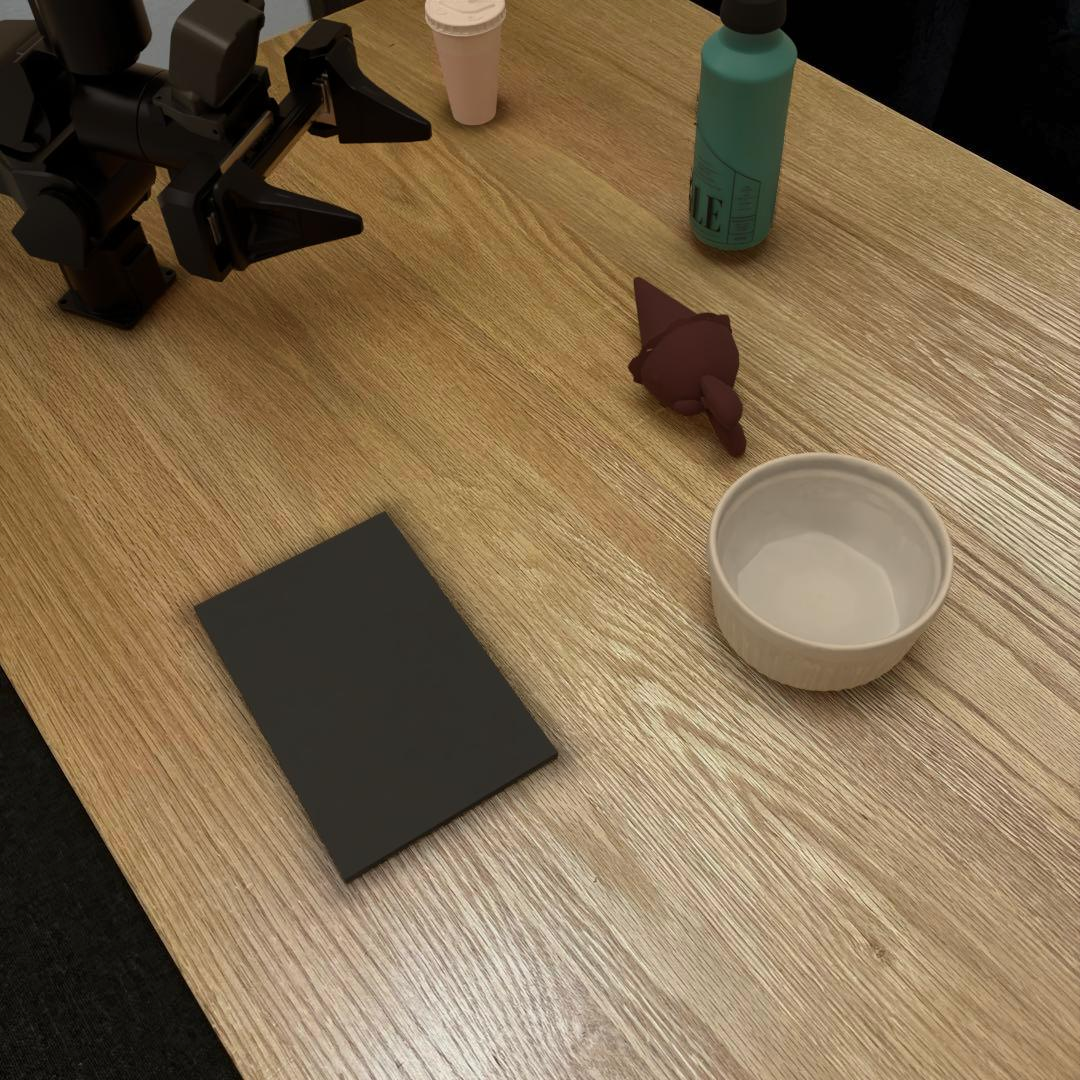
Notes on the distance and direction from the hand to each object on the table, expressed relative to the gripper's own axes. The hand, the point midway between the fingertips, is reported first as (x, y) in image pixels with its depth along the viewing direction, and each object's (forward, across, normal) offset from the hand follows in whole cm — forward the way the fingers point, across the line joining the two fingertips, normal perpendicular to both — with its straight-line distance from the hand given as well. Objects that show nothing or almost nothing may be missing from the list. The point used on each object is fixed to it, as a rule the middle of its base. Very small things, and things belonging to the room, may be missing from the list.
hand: (397, 176), depth 69 cm
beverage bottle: (+16, +21, +16) cm, 31 cm away
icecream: (+17, +5, +16) cm, 24 cm away
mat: (+7, -23, +16) cm, 29 cm away
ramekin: (+30, -10, +16) cm, 35 cm away
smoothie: (-9, +30, +17) cm, 35 cm away
